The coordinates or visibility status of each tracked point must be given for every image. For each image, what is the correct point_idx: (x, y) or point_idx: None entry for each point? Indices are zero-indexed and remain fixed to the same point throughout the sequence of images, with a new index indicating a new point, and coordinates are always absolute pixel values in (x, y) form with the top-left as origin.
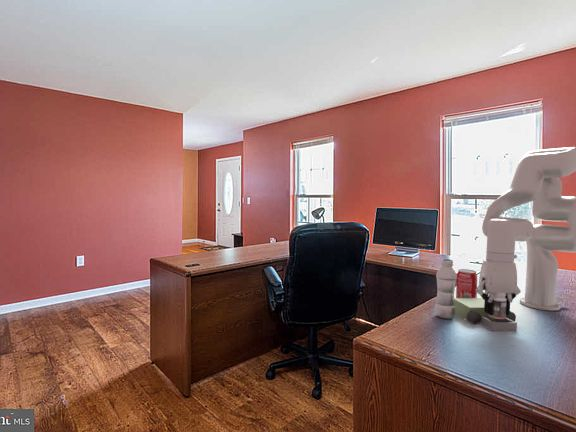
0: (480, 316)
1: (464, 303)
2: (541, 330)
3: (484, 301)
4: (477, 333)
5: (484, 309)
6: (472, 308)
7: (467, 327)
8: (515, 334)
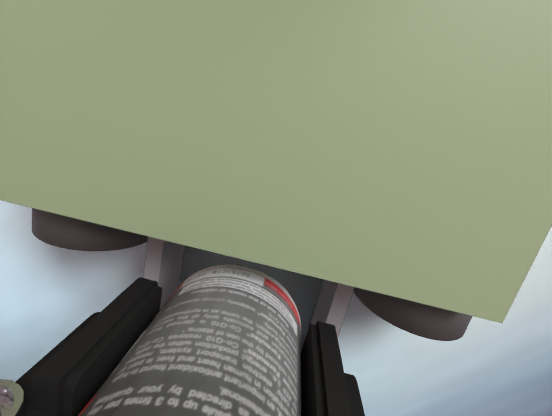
0: (133, 244)
1: (23, 39)
2: (478, 404)
3: (411, 27)
4: (43, 322)
5: (97, 314)
6: (39, 203)
7: (40, 240)
8: None
